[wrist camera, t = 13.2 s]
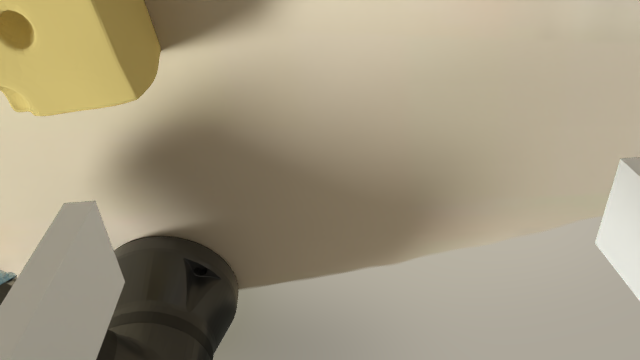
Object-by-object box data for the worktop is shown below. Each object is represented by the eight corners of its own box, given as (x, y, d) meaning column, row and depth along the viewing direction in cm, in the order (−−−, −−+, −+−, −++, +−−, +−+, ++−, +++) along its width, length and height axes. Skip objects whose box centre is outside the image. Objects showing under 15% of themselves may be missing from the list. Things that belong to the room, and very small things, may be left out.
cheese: (52, 79, 44) (-3, 134, 35) (-17, -57, 38) (-104, -29, 29) (171, 54, 43) (143, 104, 35) (119, -88, 37) (70, -70, 29)
